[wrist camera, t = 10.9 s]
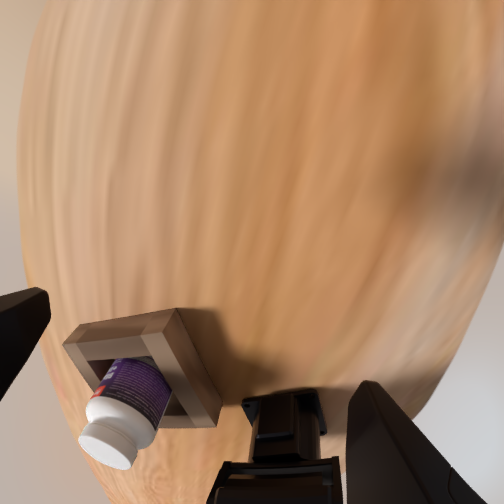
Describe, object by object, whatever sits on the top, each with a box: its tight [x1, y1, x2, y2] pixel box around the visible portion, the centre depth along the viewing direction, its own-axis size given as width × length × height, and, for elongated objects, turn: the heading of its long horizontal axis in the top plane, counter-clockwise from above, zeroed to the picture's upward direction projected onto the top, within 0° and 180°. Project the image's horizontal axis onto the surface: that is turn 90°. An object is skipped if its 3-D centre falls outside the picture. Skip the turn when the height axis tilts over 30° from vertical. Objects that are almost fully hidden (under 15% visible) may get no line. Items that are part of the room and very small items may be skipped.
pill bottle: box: [79, 355, 173, 470], centre depth 20 cm, size 5×5×10 cm
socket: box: [62, 308, 223, 428], centre depth 24 cm, size 10×10×3 cm
